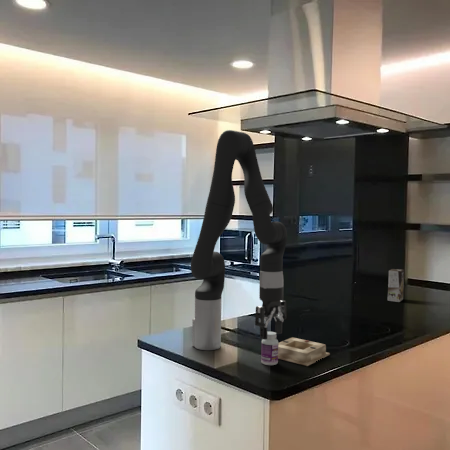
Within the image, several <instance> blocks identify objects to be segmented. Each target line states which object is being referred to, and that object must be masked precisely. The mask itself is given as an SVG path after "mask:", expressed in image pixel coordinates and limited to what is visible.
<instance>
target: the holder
mask: <svg viewBox="0 0 450 450" xmlns="http://www.w3.org/2000/svg"><path fill="white" fill-rule="evenodd" d="M330 355H331V353H330V352H327V345H326V344H324V343H320V342H315V341H311V340H309V339H307V340H306V339H303V338H302V339H301V338H297V337H293V336H292V337H289V338H287V339H285V340H282V341H280V342H278V360H283V361H286V362H290V363H294V364H298V365H302V366H306V367H309V366H311V365H312V364H315V363H317V362H318V360H319V361H320V359H321V360H322V358H323V359H324V358H326V357H328V356H330ZM316 361H317V362H316Z"/></svg>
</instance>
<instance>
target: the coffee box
mask: <svg viewBox="0 0 450 450" xmlns="http://www.w3.org/2000/svg"><path fill="white" fill-rule="evenodd" d="M404 278H405V269H400V268H396V269H395V268H391V269H389V270H388V284H387V286H388V287H387V301H389V302H396V303H400V302H402V301H403V300H404V286H405V285H404V281H405V280H404Z"/></svg>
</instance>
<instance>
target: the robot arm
mask: <svg viewBox="0 0 450 450" xmlns="http://www.w3.org/2000/svg"><path fill="white" fill-rule="evenodd" d="M236 161H237V162H238V164H239V166H240V167H241V170H242V172H243V178H244V180H243V181H244V190H243V192H244V196H245V200H246V202H247V204H248V207H249V210H250V212H251V215H252V224H253V229H254V235H255V236H256V238H257V240H258V241H259V243H261V244H263V245H266V249H265V251H264V252H263V253H261V255H260V261H259V262H260V264H259V265H260V267H259V268H260V269H259V270H260V271H259V272H260V273H259V289H258V291H259V292H258V293H259V300H260V301H261V302H262V304H261V306H259V305H258V306H257V305H256V307H255V316H254V317H255V319H254V320H255V321H254V322H255V323H254V325H255V326H256V327H259V339H261V340H263V339H264V340H266V339H267V332H268V324H269V323H270V322H271V321H272V319H273V318H274V321H275V323H274V324H275V326H274V332H275V333H276V335H277V334H278V335H280V334H283V323H284V322H285V321H284V320H286V319H287V301H286V300H284V272H283V271H284V269H283V267H284V264H283V262H284V261H283V260H284V258H283V257H284V254H285V250H286V245H287V240H288V232H287V228H286V225H284V223H283V222H280V221H277V220H276V221H272V220H271V219H272V218H271V214H272V213H273V212H274V206H273V204H272V200H271V198H270V196H269V193H268V192H267V189H266V185H265V183H264V180H263V178H262V174H261V170H260V165H259V161H258V158H257V153H256V149H255V144H254V142H253V139H252V137H251V136H250V135H249V134H248V133H246V132H243V131H237V130H232V129H227V130H224V131H223V132H222V133H221V134H220V136H219V138H218V140H217V143H216V148H215V157H214V165H213V172H212V173H213V174H212V177H211V183H210V187H209V193H208V196H207V201H206V205H205V208H204V209H205V210H204V216H203V220H202V223H201V227H200V231H199V235H198V238H197V242H196V245H195V248H194V251H193V254H192V256H191V260H190V271H191V274H192V276H193V277H194V278H195V279H196V280H200V281H202V283H201V284H200V286H198V287H197V288H196V289H195V292H194V318H192V324H191V325H192V327H191V328H192V329H191V330H192V331H191V333H192V335H191V336H192V337H191V338H192V339H191V341H192V342H191V346H192V347H194V348H195V349H197V350H201V351H214V350H218V349H220V348H221V346H222V342H221V341H222V338H221V337H222V295H223V292H224V289H225V288H224V287H225V276H226V262H225V259H224V256H223V255H222V254H221V253H220V252H218V251H215V248H216V245H217V242H218V240H219V239H220V237H221V235H222V234H223V232H224V231H225V230H226V228H227V227H228V225H229V224H230V222H231V219H232V217H233V212H234V208H235V203H236V195H235V189H234V184H233V169H234V166H235V163H236ZM259 319H260V320H259Z"/></svg>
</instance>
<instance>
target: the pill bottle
mask: <svg viewBox="0 0 450 450" xmlns="http://www.w3.org/2000/svg"><path fill="white" fill-rule="evenodd" d="M278 343H279V340H278V339H277V333H275V331H267V339H266V340H264V339H261V352H260V355H261V356H260V362H261V364H263V365H266V366H274V365H275V366H276V365H277V364H278V362H279V359H278Z"/></svg>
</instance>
